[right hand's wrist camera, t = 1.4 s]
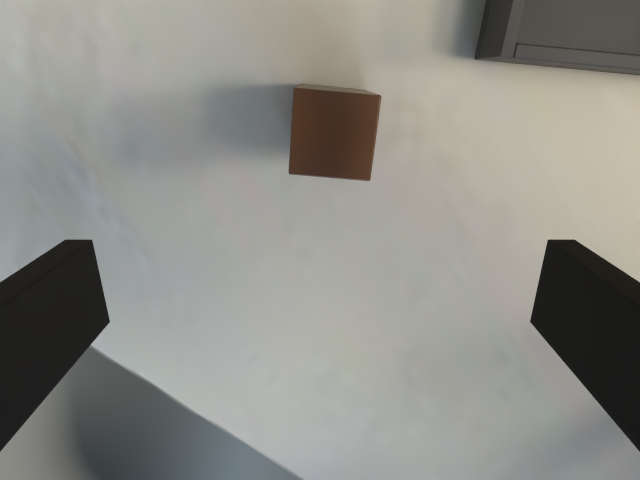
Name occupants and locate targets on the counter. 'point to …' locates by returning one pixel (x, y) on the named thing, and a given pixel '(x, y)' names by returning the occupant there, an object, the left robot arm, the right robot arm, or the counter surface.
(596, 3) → the tray
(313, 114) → the block
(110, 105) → the counter surface
